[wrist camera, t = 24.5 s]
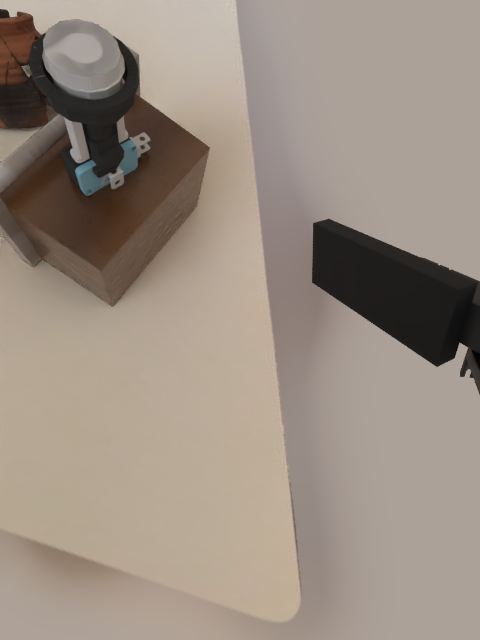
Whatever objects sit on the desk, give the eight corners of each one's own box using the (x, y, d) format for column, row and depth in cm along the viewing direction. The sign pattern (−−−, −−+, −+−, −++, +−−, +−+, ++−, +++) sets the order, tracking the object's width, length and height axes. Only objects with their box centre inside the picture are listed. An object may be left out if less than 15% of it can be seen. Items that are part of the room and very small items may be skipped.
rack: (22, 259, 33) (-40, 184, 22) (133, 149, 38) (126, 45, 28) (105, 316, 34) (83, 269, 23) (202, 198, 39) (223, 116, 28)
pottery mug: (-47, 127, 35) (-102, 17, 29) (8, 98, 41) (-27, 3, 35) (73, 139, 34) (42, 28, 28) (110, 107, 41) (91, 12, 35)
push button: (127, 125, 29) (116, -15, 19) (170, 175, 29) (179, 58, 19) (51, 163, 27) (-3, 25, 17) (97, 218, 26) (68, 109, 17)
